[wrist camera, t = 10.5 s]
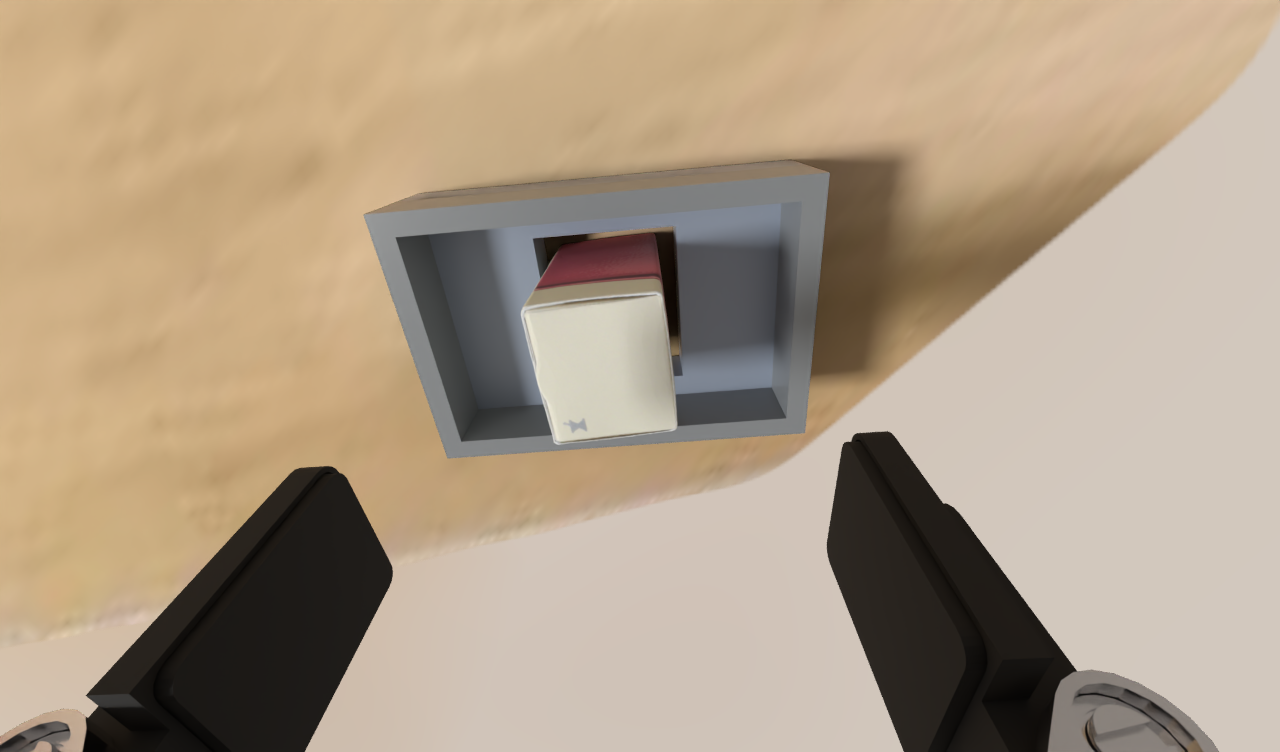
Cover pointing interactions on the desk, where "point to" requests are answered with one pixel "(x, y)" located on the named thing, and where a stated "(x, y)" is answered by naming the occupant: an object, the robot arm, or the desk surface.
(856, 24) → the desk surface
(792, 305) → the walled box
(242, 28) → the desk surface
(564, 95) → the desk surface
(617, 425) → the small box
